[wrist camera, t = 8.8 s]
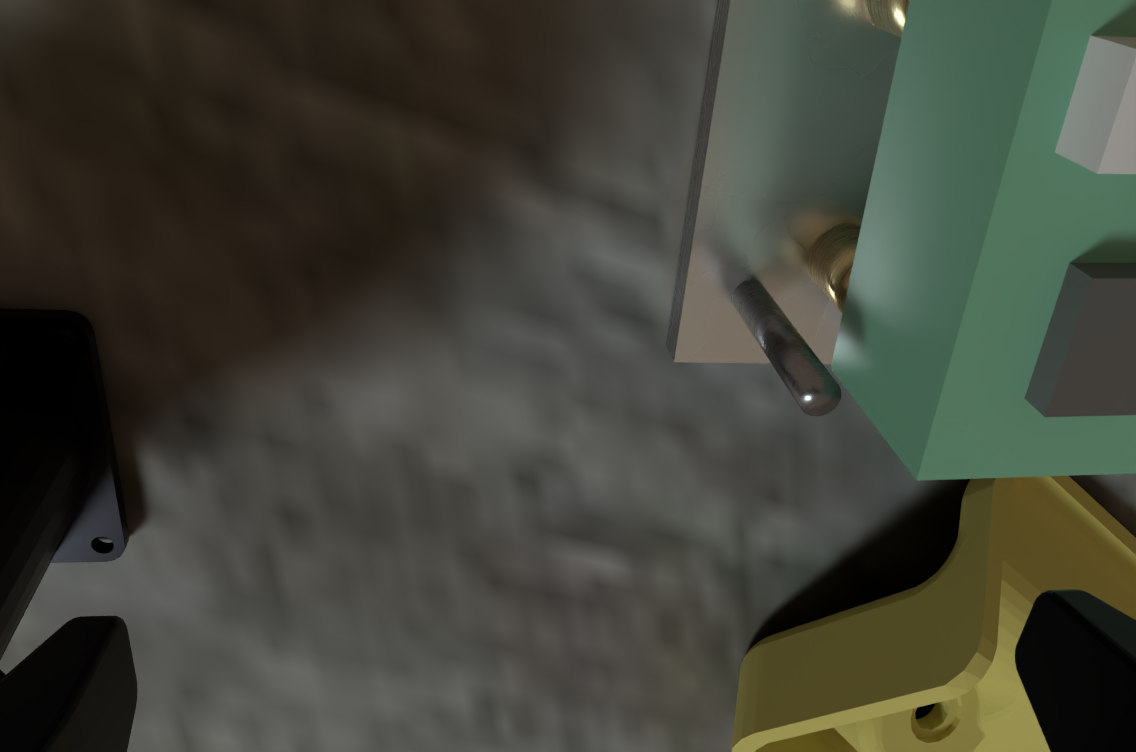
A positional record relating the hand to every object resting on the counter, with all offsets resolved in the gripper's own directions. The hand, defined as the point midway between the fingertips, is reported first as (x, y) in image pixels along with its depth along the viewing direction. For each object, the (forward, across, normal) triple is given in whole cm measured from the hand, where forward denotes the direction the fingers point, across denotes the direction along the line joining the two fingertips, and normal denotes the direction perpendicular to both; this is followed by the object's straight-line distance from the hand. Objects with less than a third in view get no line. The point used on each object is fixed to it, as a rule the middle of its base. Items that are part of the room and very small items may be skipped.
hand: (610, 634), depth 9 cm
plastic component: (+13, -17, +16) cm, 27 cm away
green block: (+10, -9, -2) cm, 13 cm away
